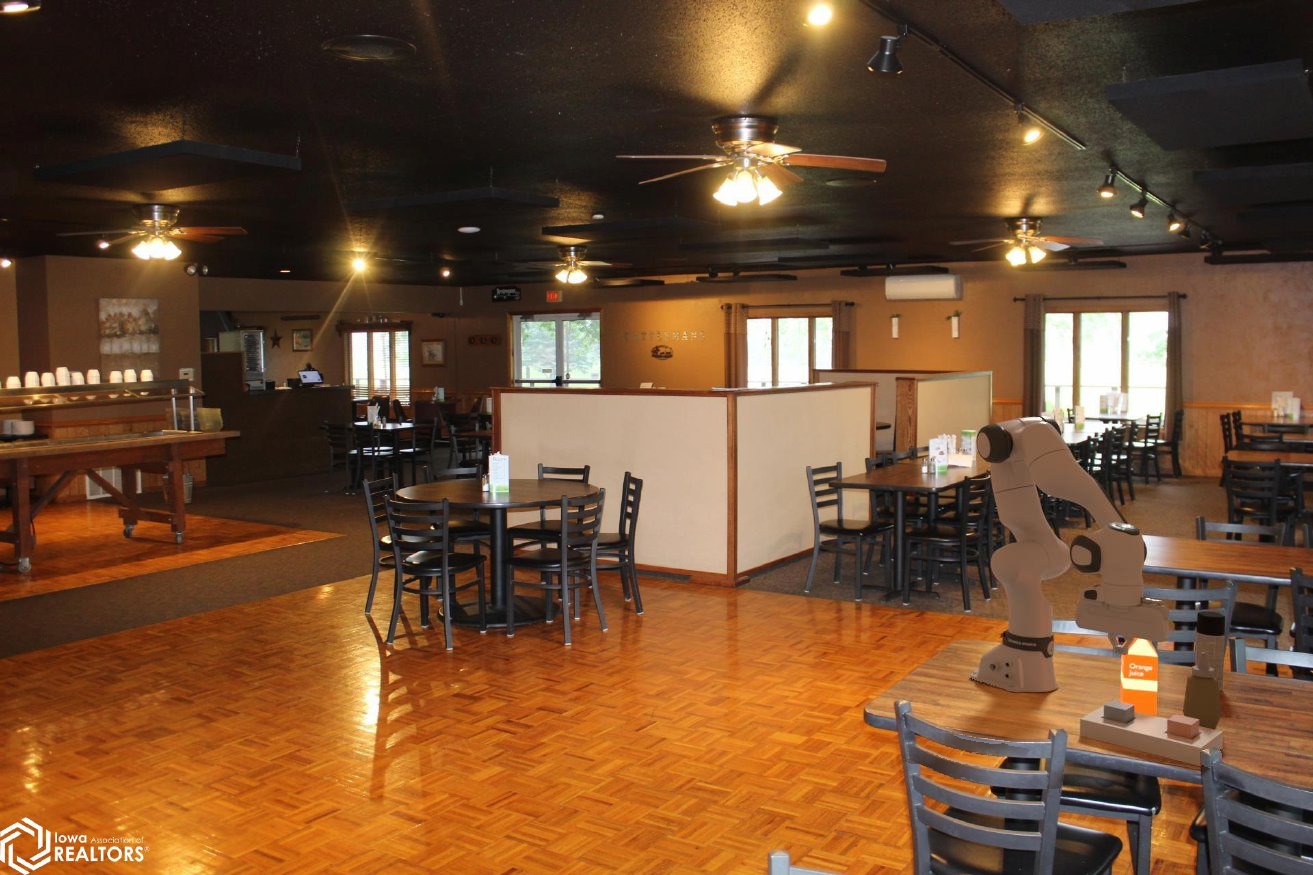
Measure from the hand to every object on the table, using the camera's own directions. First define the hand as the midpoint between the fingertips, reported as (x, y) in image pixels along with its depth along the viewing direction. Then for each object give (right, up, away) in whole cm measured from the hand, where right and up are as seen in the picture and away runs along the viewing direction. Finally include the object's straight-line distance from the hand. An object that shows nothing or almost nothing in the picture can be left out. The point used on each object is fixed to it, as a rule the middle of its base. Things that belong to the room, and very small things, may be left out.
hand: (1120, 653), depth 240 cm
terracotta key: (+10, -17, -9) cm, 21 cm away
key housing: (+5, -19, -4) cm, 20 cm away
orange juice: (+13, -18, +20) cm, 30 cm away
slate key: (0, -16, +1) cm, 16 cm away
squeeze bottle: (+21, -19, +5) cm, 29 cm away
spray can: (+39, -17, +35) cm, 55 cm away
